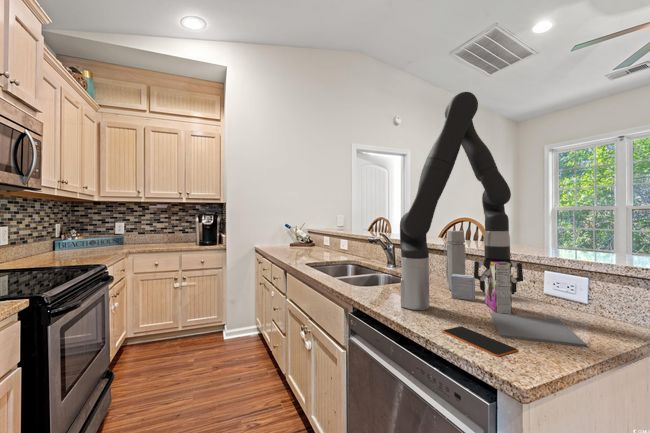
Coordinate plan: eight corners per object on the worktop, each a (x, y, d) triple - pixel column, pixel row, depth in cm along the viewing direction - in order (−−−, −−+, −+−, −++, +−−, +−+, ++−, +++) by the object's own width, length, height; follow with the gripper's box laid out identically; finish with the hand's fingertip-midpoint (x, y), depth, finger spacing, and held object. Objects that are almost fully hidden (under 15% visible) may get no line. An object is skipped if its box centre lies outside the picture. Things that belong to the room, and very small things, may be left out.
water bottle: (464, 288, 131) (463, 230, 131) (467, 292, 124) (466, 231, 124) (441, 287, 134) (441, 230, 134) (442, 291, 126) (442, 231, 127)
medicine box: (475, 298, 115) (475, 275, 115) (474, 301, 112) (473, 277, 112) (453, 295, 120) (452, 273, 120) (451, 298, 116) (450, 275, 116)
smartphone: (498, 359, 67) (498, 355, 67) (441, 333, 83) (441, 330, 83) (520, 352, 70) (520, 348, 70) (461, 328, 86) (461, 325, 86)
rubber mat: (500, 336, 79) (500, 334, 79) (490, 314, 96) (490, 312, 96) (586, 347, 72) (586, 344, 72) (559, 321, 90) (559, 319, 90)
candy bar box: (484, 304, 108) (483, 258, 108) (499, 304, 107) (499, 258, 107) (495, 314, 97) (494, 262, 97) (512, 315, 96) (512, 263, 96)
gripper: (474, 245, 101) (475, 293, 101) (524, 245, 96) (525, 297, 96) (472, 243, 108) (473, 288, 108) (519, 243, 103) (520, 291, 103)
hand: (497, 292), depth 102 cm, fingers open, 8 cm apart
